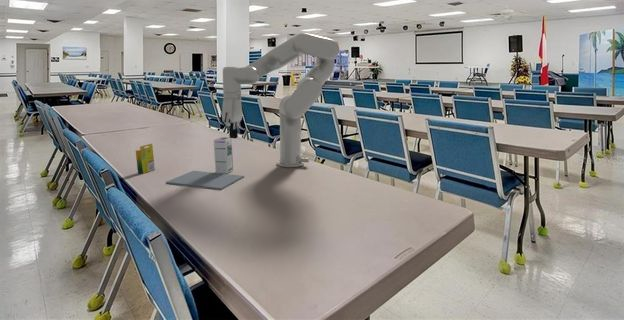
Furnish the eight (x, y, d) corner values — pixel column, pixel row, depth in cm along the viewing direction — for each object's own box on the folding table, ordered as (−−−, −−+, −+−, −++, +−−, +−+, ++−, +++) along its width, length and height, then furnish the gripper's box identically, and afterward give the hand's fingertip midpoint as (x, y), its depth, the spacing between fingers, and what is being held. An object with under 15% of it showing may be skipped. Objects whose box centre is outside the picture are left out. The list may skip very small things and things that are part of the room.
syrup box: (228, 173, 168) (226, 139, 165) (214, 173, 169) (213, 139, 166) (233, 170, 173) (232, 137, 170) (220, 169, 174) (219, 136, 171)
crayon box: (149, 169, 174) (147, 142, 171) (155, 169, 173) (153, 143, 170) (137, 173, 167) (134, 145, 164) (143, 174, 166) (140, 146, 163)
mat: (244, 177, 163) (244, 175, 163) (221, 189, 146) (221, 188, 146) (193, 172, 170) (193, 170, 170) (166, 183, 153) (165, 181, 153)
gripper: (233, 94, 181) (234, 134, 185) (215, 96, 167) (217, 140, 171) (248, 95, 178) (248, 135, 183) (231, 97, 165) (232, 141, 169)
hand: (233, 137), depth 177 cm, fingers closed
